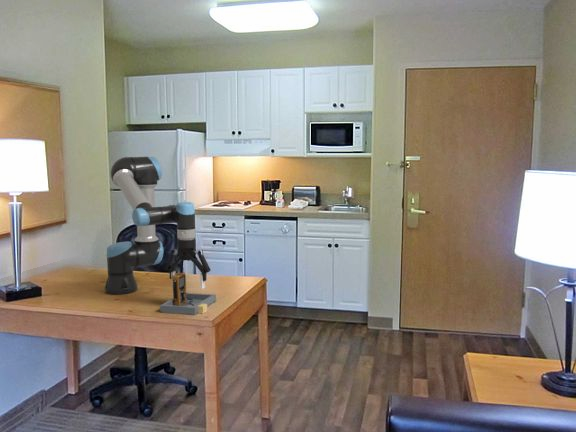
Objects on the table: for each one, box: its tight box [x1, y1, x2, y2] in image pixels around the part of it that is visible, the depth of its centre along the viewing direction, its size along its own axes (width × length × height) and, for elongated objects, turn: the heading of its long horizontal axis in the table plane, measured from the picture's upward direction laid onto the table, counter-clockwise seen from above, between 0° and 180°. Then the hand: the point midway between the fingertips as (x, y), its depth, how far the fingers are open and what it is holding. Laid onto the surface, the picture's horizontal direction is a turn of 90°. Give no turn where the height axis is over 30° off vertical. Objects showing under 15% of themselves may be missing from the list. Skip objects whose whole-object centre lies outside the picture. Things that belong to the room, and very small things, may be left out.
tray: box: [159, 292, 217, 316], centre depth 220 cm, size 18×21×3 cm
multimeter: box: [171, 259, 195, 306], centre depth 222 cm, size 15×10×20 cm
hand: (188, 287), depth 220 cm, fingers open, 13 cm apart
